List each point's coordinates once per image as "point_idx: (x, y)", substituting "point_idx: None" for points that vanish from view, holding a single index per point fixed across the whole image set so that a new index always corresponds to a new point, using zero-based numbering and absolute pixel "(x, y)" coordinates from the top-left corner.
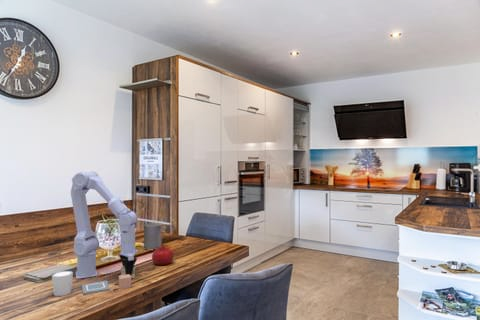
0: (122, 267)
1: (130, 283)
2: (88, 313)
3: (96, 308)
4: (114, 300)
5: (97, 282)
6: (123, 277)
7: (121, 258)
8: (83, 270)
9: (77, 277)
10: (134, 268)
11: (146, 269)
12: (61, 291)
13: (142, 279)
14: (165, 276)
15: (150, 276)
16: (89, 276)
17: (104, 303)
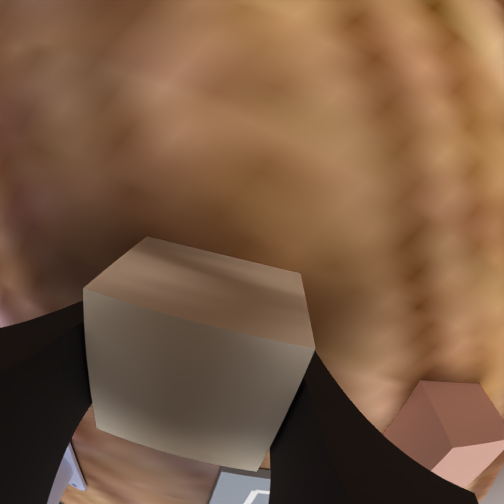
0: (144, 436)
1: (490, 407)
2: (481, 499)
3: (481, 491)
4: (500, 456)
5: (224, 498)
6: (463, 479)
7: (43, 500)
8: (60, 499)
9: (78, 487)
10: (309, 352)
11: (97, 30)
12: None
13: (426, 237)
14: (493, 18)
15: (405, 107)
16: (76, 464)
17: (481, 479)
